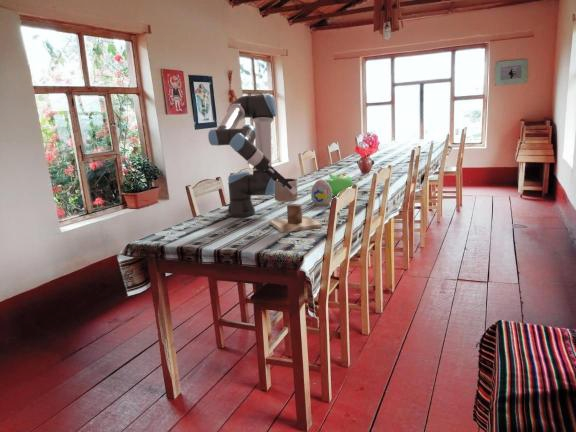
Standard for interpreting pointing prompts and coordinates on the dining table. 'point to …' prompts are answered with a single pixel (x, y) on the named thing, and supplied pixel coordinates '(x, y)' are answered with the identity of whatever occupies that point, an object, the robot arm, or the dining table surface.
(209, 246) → the dining table surface
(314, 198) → the decorative egg
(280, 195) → the planter
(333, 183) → the toy bird
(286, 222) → the square base plate
